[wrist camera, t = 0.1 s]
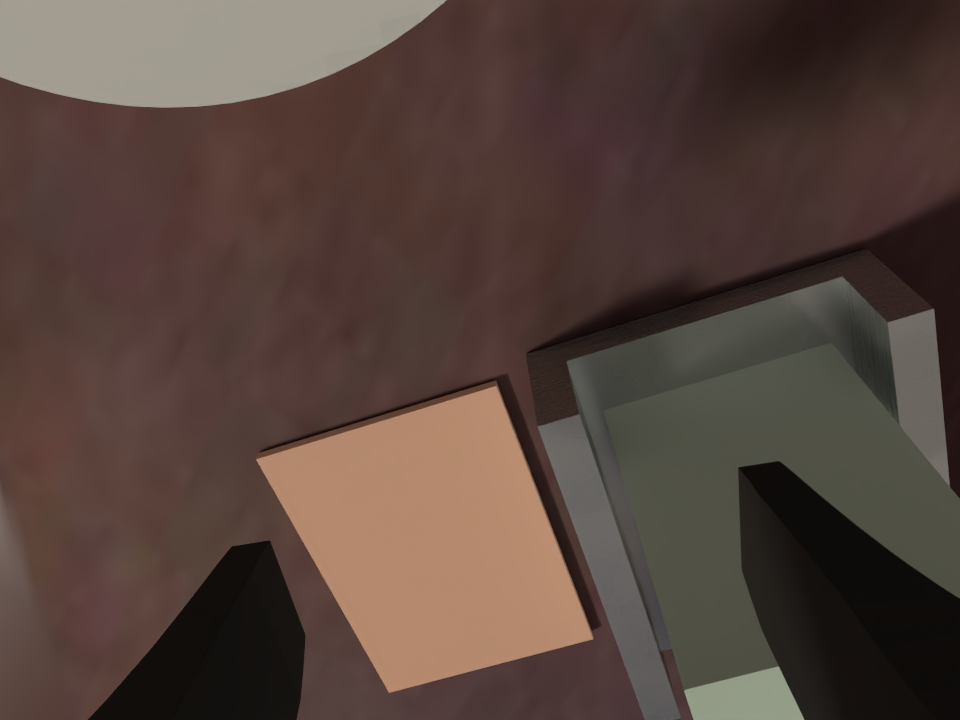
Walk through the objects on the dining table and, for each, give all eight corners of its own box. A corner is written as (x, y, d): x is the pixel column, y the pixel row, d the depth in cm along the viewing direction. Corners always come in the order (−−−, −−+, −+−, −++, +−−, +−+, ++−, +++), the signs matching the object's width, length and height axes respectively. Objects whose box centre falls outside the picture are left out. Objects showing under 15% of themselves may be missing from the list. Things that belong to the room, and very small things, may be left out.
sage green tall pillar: (843, 420, 23) (1045, 698, 15) (625, 482, 24) (712, 777, 16) (831, 342, 22) (1042, 599, 14) (603, 410, 23) (683, 689, 15)
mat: (592, 631, 28) (593, 638, 28) (389, 685, 29) (389, 692, 29) (495, 380, 24) (496, 385, 23) (258, 452, 24) (256, 459, 24)
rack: (905, 561, 27) (964, 648, 24) (625, 634, 28) (647, 726, 25) (866, 248, 22) (934, 308, 19) (526, 353, 23) (537, 426, 20)
